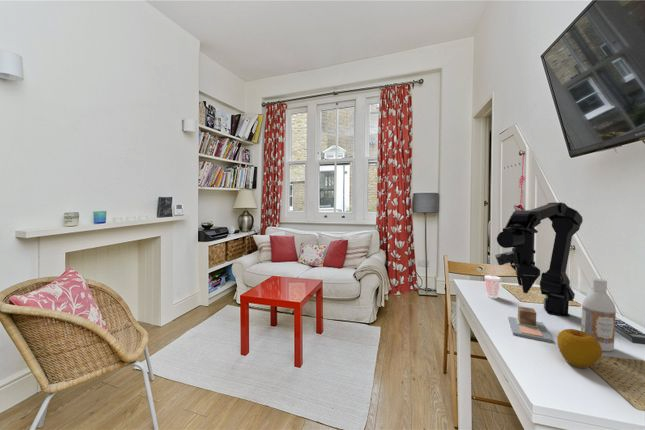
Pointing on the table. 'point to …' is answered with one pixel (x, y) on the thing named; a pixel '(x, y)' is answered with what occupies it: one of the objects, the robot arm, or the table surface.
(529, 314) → the walnut block
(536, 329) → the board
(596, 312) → the bath foam
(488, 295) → the beverage cup
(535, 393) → the table surface
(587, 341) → the apple
